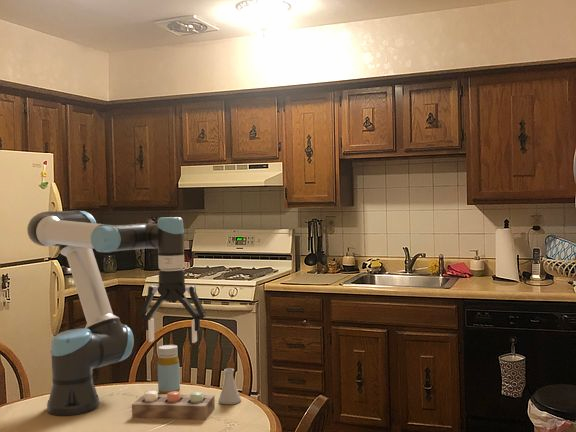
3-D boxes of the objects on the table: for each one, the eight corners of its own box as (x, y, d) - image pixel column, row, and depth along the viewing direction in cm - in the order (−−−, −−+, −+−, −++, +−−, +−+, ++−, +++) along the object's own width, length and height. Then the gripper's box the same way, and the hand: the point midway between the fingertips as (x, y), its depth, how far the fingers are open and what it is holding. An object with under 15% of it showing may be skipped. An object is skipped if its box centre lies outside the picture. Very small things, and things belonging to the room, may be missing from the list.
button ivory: (142, 406, 182) (142, 394, 182) (147, 402, 186) (147, 390, 186) (155, 406, 182) (154, 394, 182) (159, 402, 186) (159, 391, 185)
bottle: (177, 395, 201) (176, 349, 200) (156, 395, 201) (155, 349, 200) (181, 388, 208) (180, 344, 207) (161, 389, 208) (159, 344, 207)
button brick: (165, 407, 181) (165, 395, 181) (169, 402, 185) (169, 391, 185) (178, 407, 181) (177, 395, 181) (182, 403, 184) (181, 391, 184)
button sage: (188, 407, 180) (188, 395, 180) (192, 403, 184) (192, 391, 184) (201, 407, 180) (200, 395, 180) (204, 403, 183) (204, 392, 183)
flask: (237, 405, 188) (236, 373, 188) (215, 404, 190) (214, 372, 190) (244, 398, 196) (243, 367, 195) (222, 397, 197) (221, 366, 197)
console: (132, 417, 180) (131, 404, 180) (145, 406, 189) (144, 393, 189) (205, 420, 176) (205, 406, 176) (214, 408, 186) (214, 395, 186)
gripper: (126, 270, 180) (128, 343, 181) (208, 270, 177) (210, 345, 177) (136, 268, 188) (137, 337, 188) (215, 268, 184) (216, 339, 185)
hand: (172, 341), depth 183 cm, fingers open, 12 cm apart
